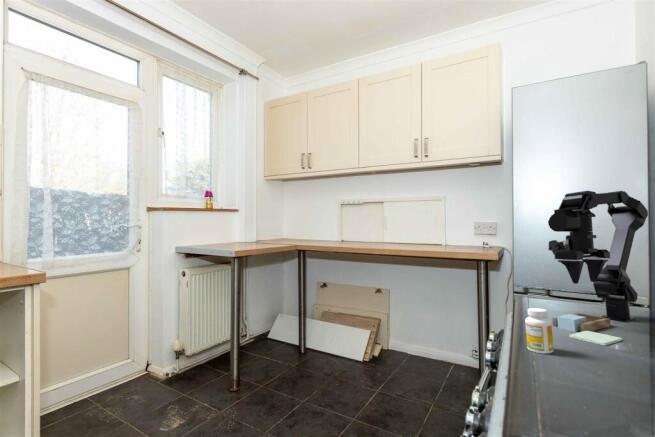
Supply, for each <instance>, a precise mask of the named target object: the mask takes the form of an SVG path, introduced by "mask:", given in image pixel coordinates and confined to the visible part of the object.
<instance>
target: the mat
mask: <svg viewBox="0 0 655 437" xmlns="http://www.w3.org/2000/svg"><path fill="white" fill-rule="evenodd" d="M568 337H569V338H571V339H576V340H580V341H584V342H589V343H591V344H595V345H601V346H608V345H611V344H615V343H618V342H621V341H623V338H622V337H619V336H613V335H610V334H605V333H604V334H603V333H599V332H595V331H583V332H581V331H579V332H575V333H571V334H569V335H568Z"/></svg>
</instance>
